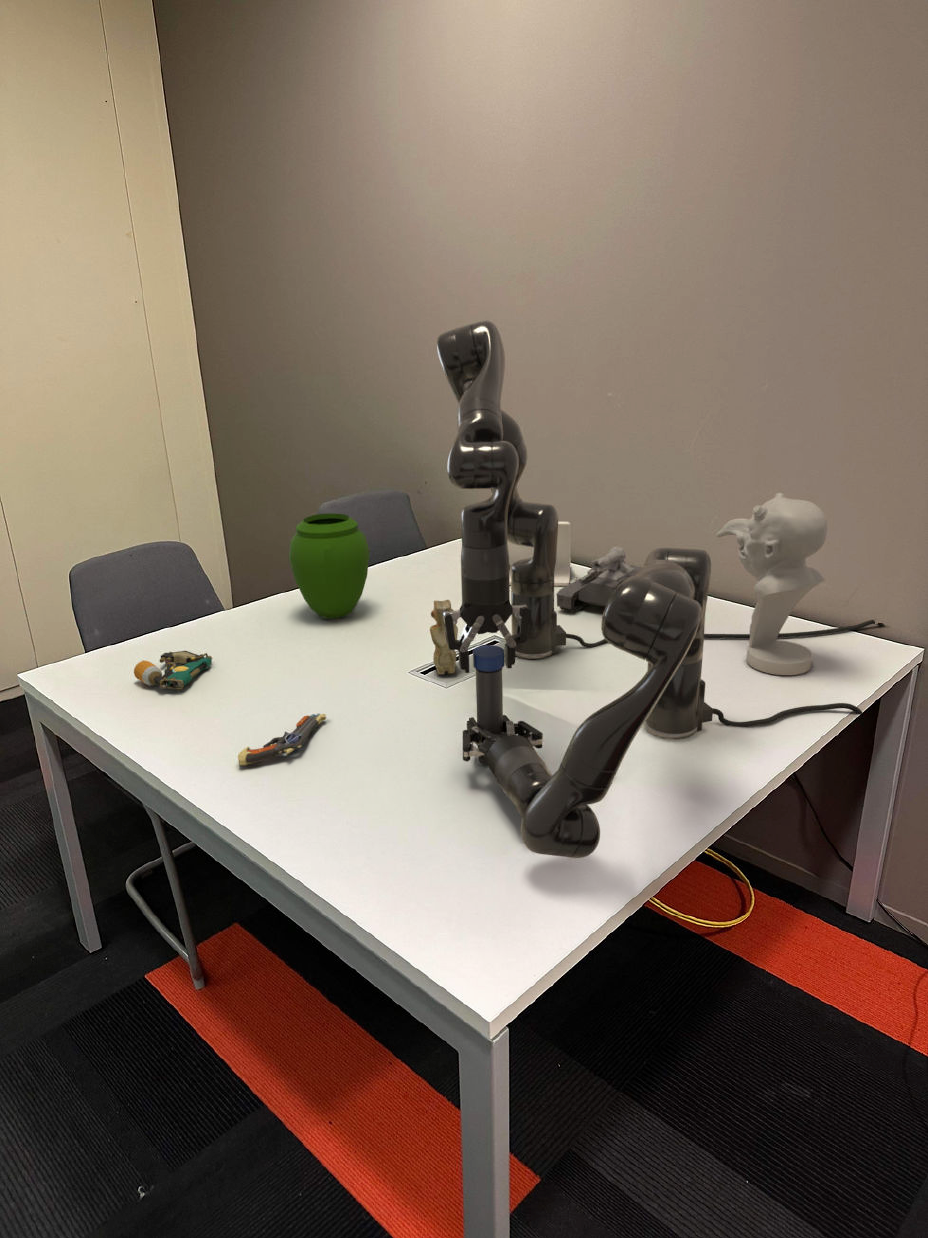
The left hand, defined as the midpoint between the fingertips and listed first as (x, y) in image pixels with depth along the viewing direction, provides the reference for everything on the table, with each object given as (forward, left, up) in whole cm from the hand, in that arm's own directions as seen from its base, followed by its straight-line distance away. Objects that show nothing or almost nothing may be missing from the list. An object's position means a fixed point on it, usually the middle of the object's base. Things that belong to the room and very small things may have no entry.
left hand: (487, 668), depth 139 cm
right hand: (0, -3, -11) cm, 11 cm away
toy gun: (+34, -14, -17) cm, 41 cm away
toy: (-48, -67, -17) cm, 84 cm away
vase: (+21, -79, -17) cm, 84 cm away
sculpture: (+1, -38, -17) cm, 42 cm away
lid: (0, 0, +3) cm, 3 cm away
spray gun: (+56, -50, -17) cm, 77 cm away
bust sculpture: (-65, -26, -17) cm, 72 cm away
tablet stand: (-33, -97, -17) cm, 103 cm away
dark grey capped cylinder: (0, 0, -17) cm, 17 cm away
